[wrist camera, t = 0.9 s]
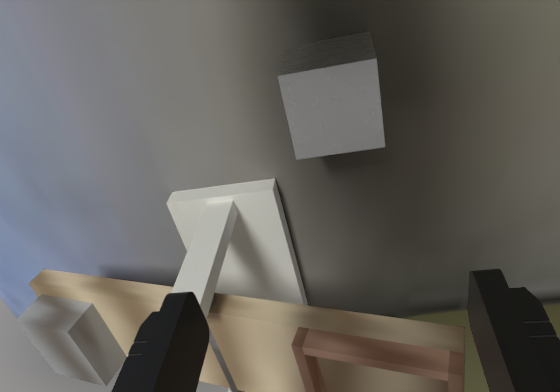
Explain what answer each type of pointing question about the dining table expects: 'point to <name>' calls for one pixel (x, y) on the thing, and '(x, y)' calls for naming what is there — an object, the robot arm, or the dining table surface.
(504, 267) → the dining table surface
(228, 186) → the pivot stand
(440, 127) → the dining table surface
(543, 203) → the dining table surface
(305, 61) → the block
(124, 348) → the beam
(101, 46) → the dining table surface
